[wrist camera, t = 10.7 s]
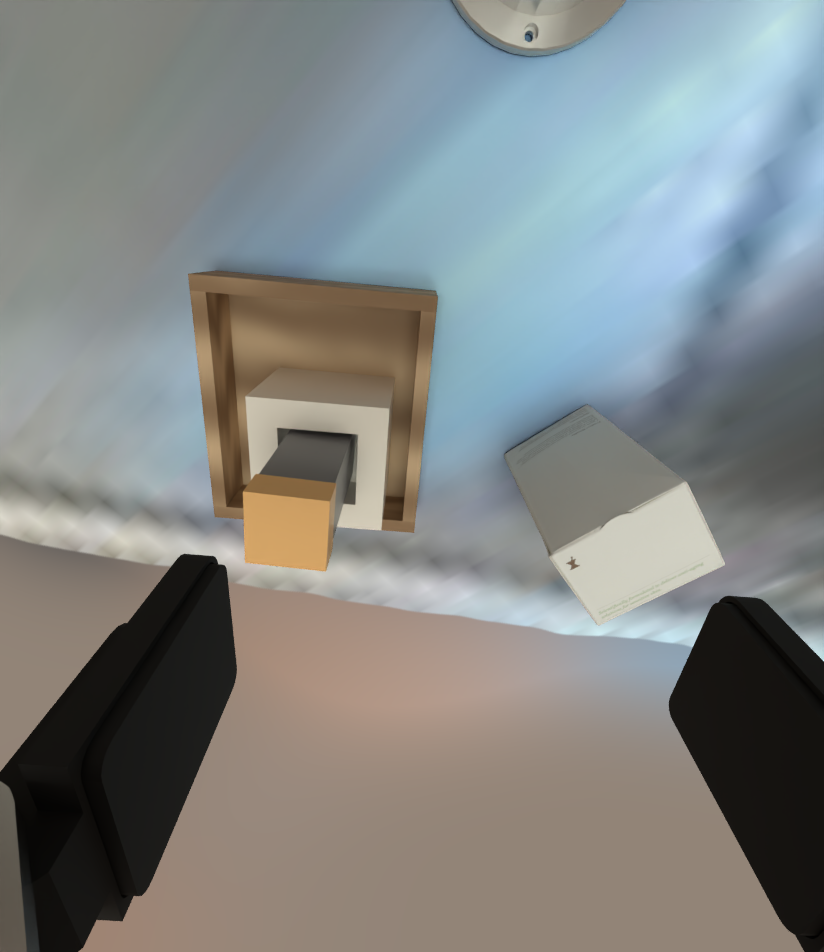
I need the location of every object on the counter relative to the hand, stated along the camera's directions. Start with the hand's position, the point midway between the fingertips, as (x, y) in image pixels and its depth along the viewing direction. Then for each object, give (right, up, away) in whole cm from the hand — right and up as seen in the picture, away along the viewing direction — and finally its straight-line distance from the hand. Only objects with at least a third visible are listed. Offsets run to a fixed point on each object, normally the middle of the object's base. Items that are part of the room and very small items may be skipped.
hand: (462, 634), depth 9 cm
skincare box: (+12, +5, +31) cm, 34 cm away
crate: (-8, +9, +29) cm, 32 cm away
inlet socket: (-7, +7, +30) cm, 31 cm away
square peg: (-7, +5, +25) cm, 27 cm away
